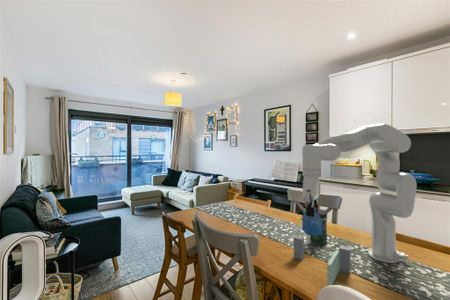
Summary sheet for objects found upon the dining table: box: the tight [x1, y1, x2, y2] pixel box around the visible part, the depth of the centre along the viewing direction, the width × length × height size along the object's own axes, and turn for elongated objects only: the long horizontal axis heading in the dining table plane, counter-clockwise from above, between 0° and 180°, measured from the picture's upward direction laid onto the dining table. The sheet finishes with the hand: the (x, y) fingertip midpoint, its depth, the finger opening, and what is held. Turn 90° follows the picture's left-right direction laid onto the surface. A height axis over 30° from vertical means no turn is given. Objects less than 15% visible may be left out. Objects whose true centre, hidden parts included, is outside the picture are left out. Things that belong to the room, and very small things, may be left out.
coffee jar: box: [309, 208, 328, 246], centre depth 125 cm, size 10×8×19 cm
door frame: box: [293, 235, 352, 274], centre depth 102 cm, size 24×3×10 cm, turn 55°
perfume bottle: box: [301, 204, 323, 236], centre depth 95 cm, size 6×6×12 cm
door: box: [326, 249, 340, 287], centre depth 90 cm, size 15×1×9 cm, turn 141°
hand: (312, 213), depth 95 cm, fingers closed on perfume bottle, 5 cm apart
